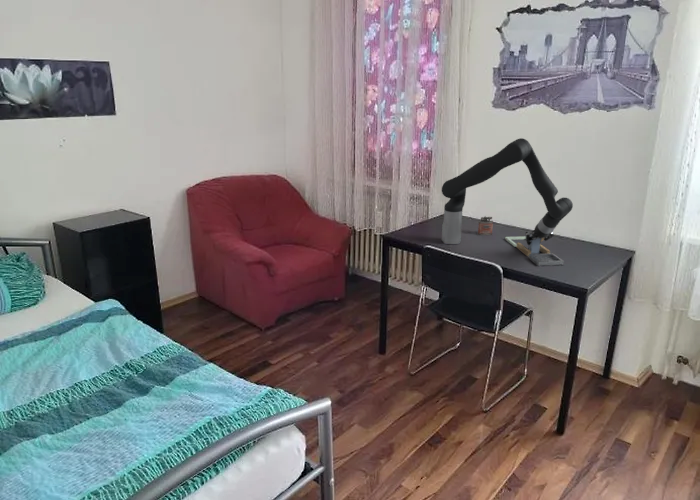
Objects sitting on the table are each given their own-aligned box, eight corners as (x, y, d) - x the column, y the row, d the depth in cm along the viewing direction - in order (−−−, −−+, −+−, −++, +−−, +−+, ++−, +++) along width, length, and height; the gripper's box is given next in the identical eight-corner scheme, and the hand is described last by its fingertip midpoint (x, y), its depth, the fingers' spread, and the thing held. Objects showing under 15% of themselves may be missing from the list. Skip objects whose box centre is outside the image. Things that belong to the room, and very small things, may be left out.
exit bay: (514, 246, 263) (514, 244, 263) (505, 239, 276) (505, 236, 275) (537, 246, 264) (538, 243, 264) (527, 238, 277) (527, 236, 276)
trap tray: (538, 266, 236) (538, 261, 236) (528, 258, 247) (528, 254, 246) (563, 265, 237) (564, 261, 237) (552, 257, 248) (553, 253, 247)
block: (531, 253, 253) (533, 236, 250) (527, 250, 257) (529, 233, 254) (539, 253, 254) (541, 235, 251) (535, 250, 257) (537, 233, 254)
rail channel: (527, 256, 249) (528, 251, 248) (516, 247, 262) (516, 242, 262) (549, 255, 250) (550, 250, 249) (537, 246, 263) (537, 242, 262)
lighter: (478, 235, 283) (479, 217, 280) (476, 233, 286) (478, 216, 283) (493, 235, 283) (494, 217, 280) (491, 233, 286) (492, 215, 283)
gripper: (558, 218, 243) (544, 236, 258) (529, 219, 242) (517, 236, 257) (562, 232, 239) (548, 249, 255) (532, 233, 238) (520, 250, 254)
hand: (532, 243), depth 256 cm, fingers closed on block, 4 cm apart
